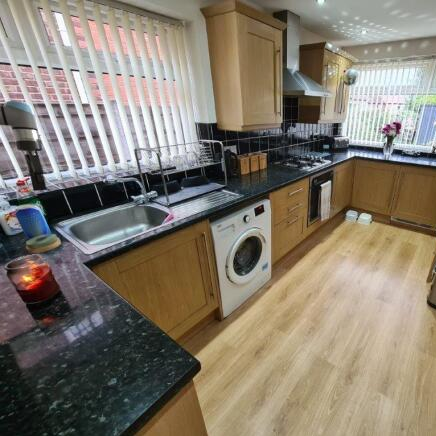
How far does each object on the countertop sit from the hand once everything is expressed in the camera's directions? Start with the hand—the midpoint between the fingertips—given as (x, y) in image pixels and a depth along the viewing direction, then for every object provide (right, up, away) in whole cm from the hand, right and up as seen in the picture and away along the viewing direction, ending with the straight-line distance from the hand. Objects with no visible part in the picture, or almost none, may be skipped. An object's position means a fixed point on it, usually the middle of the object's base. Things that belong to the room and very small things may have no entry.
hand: (40, 190), depth 109 cm
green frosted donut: (+2, -25, +1) cm, 25 cm away
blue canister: (-9, -22, +9) cm, 25 cm away
